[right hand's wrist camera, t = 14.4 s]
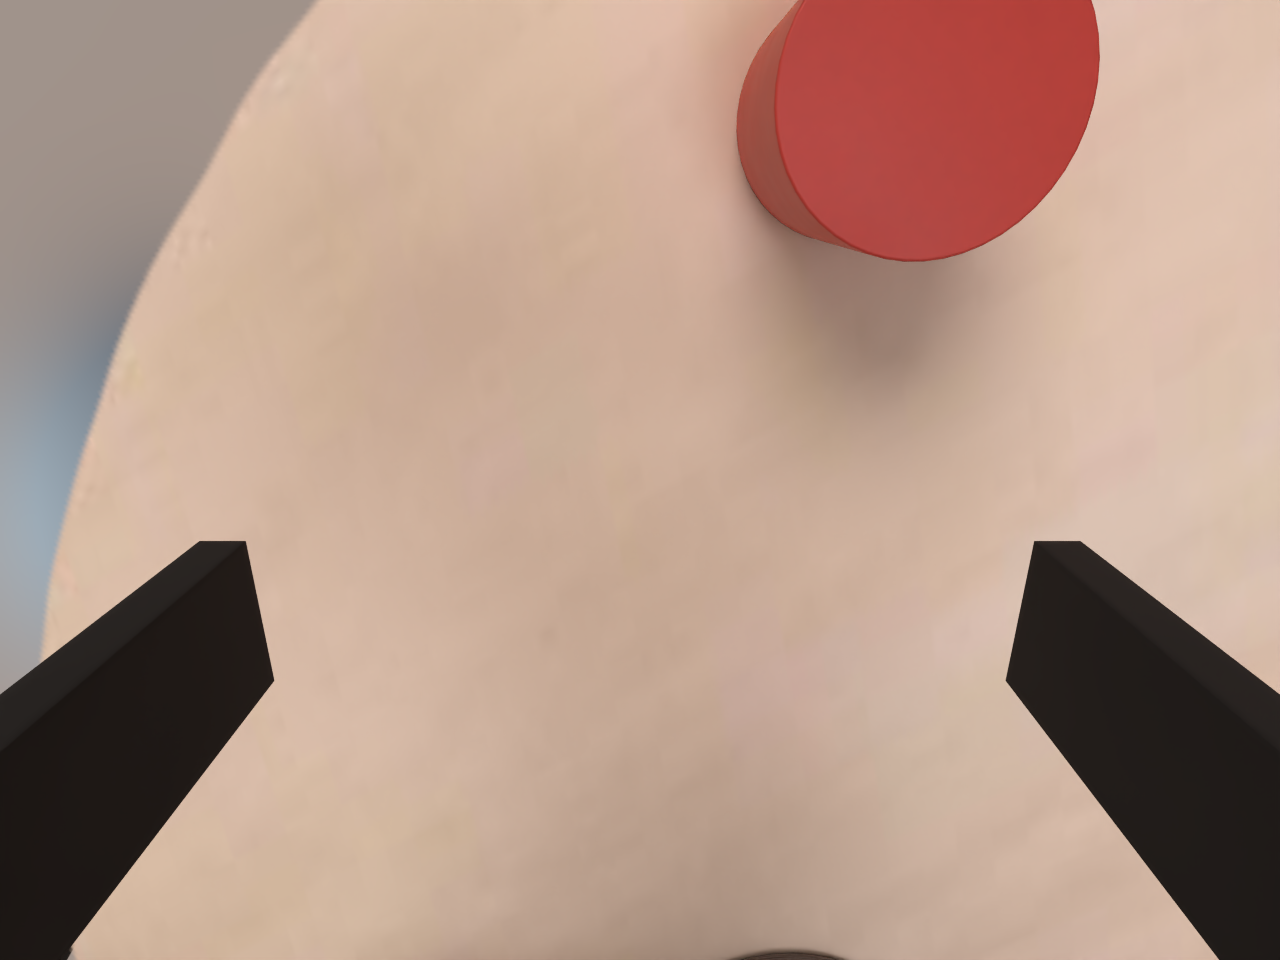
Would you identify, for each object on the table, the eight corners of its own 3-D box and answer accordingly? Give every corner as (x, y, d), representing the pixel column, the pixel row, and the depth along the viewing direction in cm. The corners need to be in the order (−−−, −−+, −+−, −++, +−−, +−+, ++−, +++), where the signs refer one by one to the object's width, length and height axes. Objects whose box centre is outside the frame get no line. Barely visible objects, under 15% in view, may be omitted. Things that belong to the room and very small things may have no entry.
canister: (754, 262, 30) (796, 289, 22) (719, 17, 27) (752, -55, 19) (973, 216, 29) (1098, 226, 21) (962, -41, 26) (1104, -142, 18)
